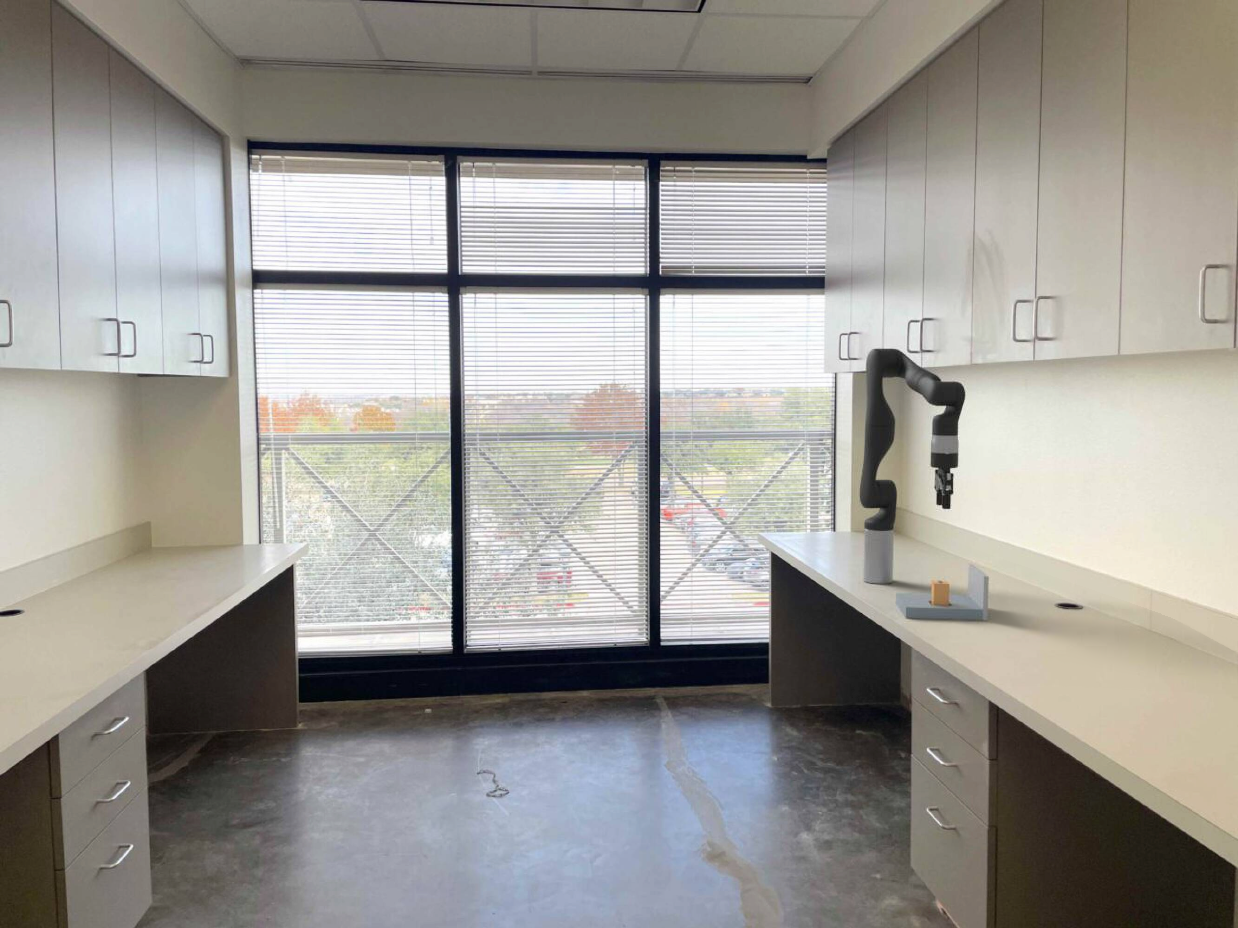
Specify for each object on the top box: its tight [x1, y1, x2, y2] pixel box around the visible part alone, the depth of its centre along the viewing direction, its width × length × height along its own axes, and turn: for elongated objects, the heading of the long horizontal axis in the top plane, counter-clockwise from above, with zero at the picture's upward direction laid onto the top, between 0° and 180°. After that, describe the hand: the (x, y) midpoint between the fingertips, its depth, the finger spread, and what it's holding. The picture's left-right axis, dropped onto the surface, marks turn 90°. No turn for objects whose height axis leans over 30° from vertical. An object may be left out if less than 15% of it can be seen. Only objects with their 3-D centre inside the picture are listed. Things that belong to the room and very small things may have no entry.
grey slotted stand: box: [895, 563, 990, 622], centre depth 256 cm, size 18×21×12 cm
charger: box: [930, 580, 950, 606], centre depth 253 cm, size 4×4×9 cm
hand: (943, 507), depth 264 cm, fingers open, 8 cm apart
